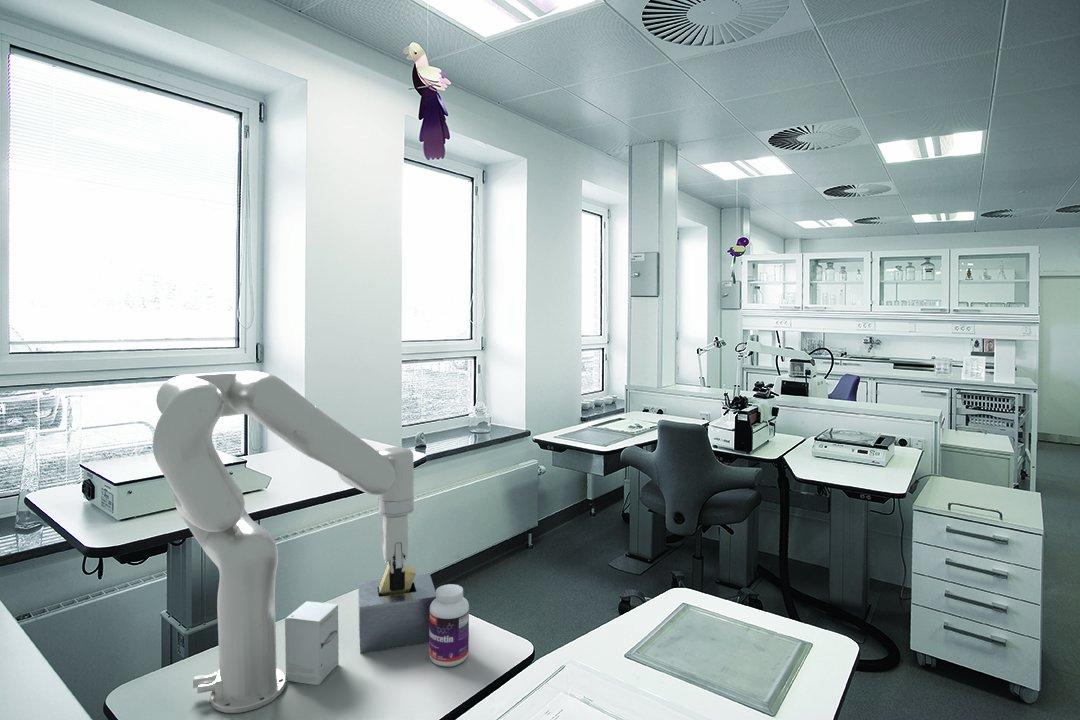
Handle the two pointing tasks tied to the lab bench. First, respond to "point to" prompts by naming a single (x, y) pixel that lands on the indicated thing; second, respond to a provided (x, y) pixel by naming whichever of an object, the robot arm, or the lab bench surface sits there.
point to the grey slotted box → (394, 615)
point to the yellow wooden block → (385, 582)
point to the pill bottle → (449, 626)
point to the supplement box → (311, 642)
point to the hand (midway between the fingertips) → (396, 585)
